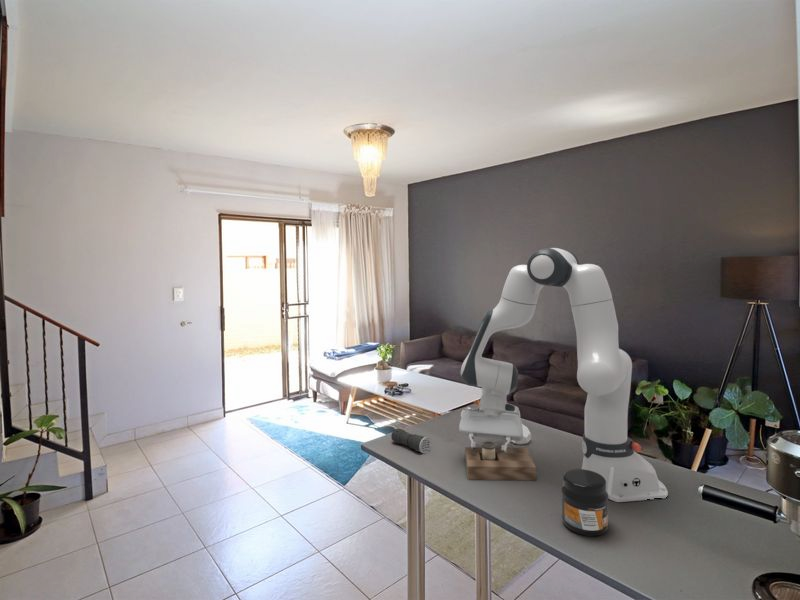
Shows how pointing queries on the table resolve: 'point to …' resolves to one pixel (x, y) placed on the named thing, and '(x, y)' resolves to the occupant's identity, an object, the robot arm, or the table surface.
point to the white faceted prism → (524, 436)
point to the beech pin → (488, 451)
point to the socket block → (500, 465)
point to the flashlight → (411, 440)
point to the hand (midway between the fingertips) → (488, 450)
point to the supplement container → (585, 502)
